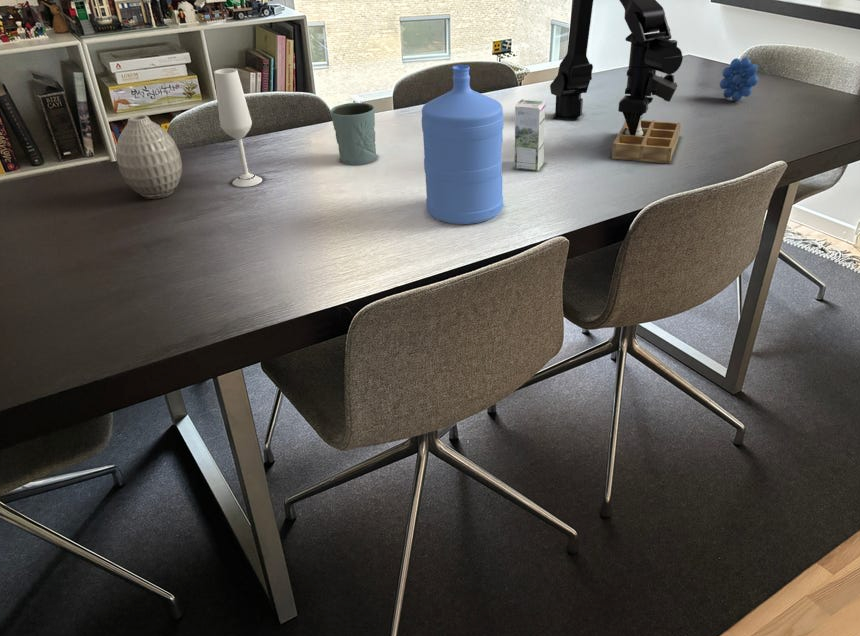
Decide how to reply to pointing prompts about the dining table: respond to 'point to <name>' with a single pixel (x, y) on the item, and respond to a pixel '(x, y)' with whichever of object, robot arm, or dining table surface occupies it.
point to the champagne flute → (234, 116)
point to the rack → (648, 142)
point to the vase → (148, 158)
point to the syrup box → (529, 134)
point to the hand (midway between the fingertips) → (634, 132)
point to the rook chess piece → (639, 130)
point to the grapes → (739, 79)
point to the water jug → (463, 153)
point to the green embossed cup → (355, 132)
